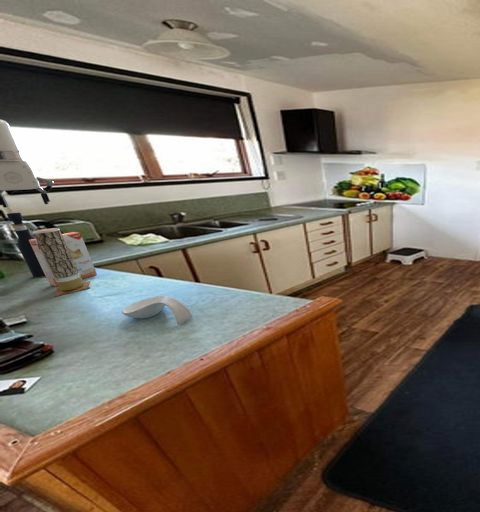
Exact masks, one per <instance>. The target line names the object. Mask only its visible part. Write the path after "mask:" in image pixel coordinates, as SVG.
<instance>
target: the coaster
mask: <svg viewBox="0 0 480 512" xmlns="http://www.w3.org/2000/svg"><path fill="white" fill-rule="evenodd" d="M83 283H84V284H83V286H82V287H79V288H77V289H73V290H68V291H62V290H60V288H59V287H56V288H55V292H54V295H53V296H54V298H56V297H59V296H60V297H61V296H64V295H69V294H73V293H76V292H77V293H78V292H81V291H85V290H90V289H91V280H88V281H83Z"/></svg>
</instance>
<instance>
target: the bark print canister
mask: <svg viewBox="0 0 480 512" xmlns="http://www.w3.org/2000/svg"><path fill="white" fill-rule="evenodd" d="M32 234H33V237H34V238H35V239H36V240H37V242H38V244H39V247H40V249H41V251H42V253H43V255H44V257H45V259H46V261H47V263H48V265H49V267H50V270H51V272H52V274H53V276H54V278H55V280H56V282H57V284H58V286H57V287H58V288H60V290H62V291H68V290H73V289H77V288H79V287H82V286H83V284H84V283H83V282H84V281H83V279H81V277H80V274H79V272H78V270H77V267H76V265H75V263H74V261H73V258H72V256H71V254H70V251H69V249H68V247H67V245H66V242H65V240H64V238H63V236H62V234H63V233H62V231H61V229H60V228H59V227H52V228H43V229H38V230H33V231H32Z"/></svg>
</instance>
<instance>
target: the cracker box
mask: <svg viewBox="0 0 480 512" xmlns="http://www.w3.org/2000/svg"><path fill="white" fill-rule="evenodd" d="M62 236H63V238H64V240H65V242H66V245H67V247H68V249H69V251H70V254H71V256H72V258H73V261H74V263H75V265H76V267H77V270H78V272H79V274H80V277H81V279H82V280H84V279H87V278H90V277H94V276H97V275H98V273H97V271H96V268H95V266H94V263H93V261H92V259H91V256H90V254H89V251H88V248H87V246H86V243H85V241H84V238H83V235H82V233H81V232H76V231H71V232H66V233H62ZM29 242H30V244H31V246H32V248H33V250H34V252H35V255H36V257H37V259H38V261H39V263H40V265H41V267H42V269H43V272H44V274H45V276H44V277H45V278H46V280H47V282H48V284H49V286H53V287H59V286H58V284H57V282H56V280H55V278H54V276H53V274H52V272H51V270H50V267H49V265H48V263H47V261H46V259H45V257H44V255H43V253H42V251H41V249H40V247H39V244H38V242H37V240H36V238H35V239H31V240H29Z"/></svg>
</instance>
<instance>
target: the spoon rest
mask: <svg viewBox="0 0 480 512" xmlns="http://www.w3.org/2000/svg"><path fill="white" fill-rule="evenodd" d="M165 307H167V308H169V309H170V311H172V313H173V315H174V318H175V321H176V324H177V325H180V324H182V323H183V322H185V321H187V320H189V319H191V318H192V317H193V314H192V313H191V311H190V310H189V308H187V306H186V305H184V304H183V303H182V302H181V301H179V300H178V299H176V298H174V297H171V296H166V295H158V296H151V297H147V298H145V299H141V300H139V301H136V302H134V303H132V304H130V305H127V306H126V307H124V308H123V309H122V310H121V314H123V315H124V316H126V317H129V318H133V319H141V320H142V319H143V320H144V319H148V318H152V317H154V316H157V315H158V314H160V313H161V311H163V309H164V308H165Z"/></svg>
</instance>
